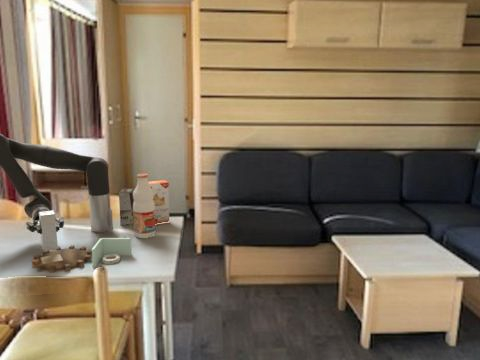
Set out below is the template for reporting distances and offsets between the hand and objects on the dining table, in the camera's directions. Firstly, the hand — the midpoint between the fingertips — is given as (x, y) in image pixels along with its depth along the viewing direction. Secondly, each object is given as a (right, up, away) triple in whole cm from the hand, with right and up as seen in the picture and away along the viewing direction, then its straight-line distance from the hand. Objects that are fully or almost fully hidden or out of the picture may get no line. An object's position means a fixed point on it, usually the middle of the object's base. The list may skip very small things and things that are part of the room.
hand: (49, 230), depth 165 cm
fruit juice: (+28, -6, +36) cm, 46 cm away
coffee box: (+16, -2, +54) cm, 56 cm away
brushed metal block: (-2, -7, +4) cm, 8 cm away
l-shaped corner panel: (+21, -13, +8) cm, 26 cm away
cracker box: (+29, -3, +51) cm, 59 cm away
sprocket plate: (+2, -13, +7) cm, 15 cm away
